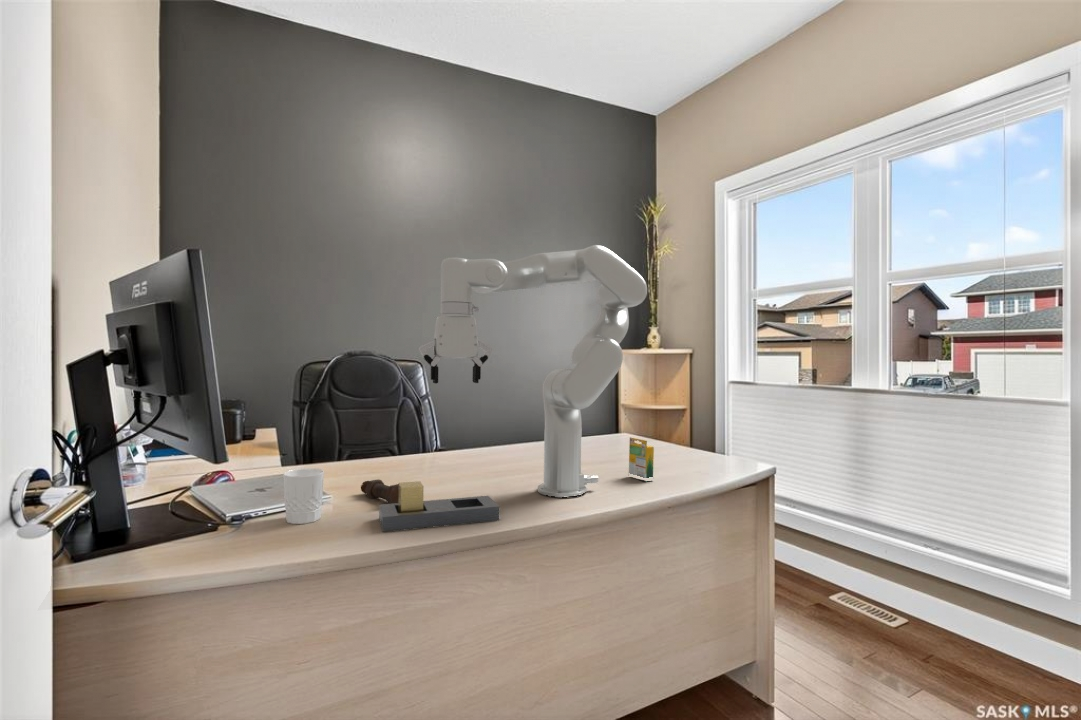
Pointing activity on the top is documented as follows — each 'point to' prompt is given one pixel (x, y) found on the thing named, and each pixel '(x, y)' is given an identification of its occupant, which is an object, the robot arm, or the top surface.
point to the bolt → (381, 491)
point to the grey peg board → (440, 513)
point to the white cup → (303, 495)
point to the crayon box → (641, 458)
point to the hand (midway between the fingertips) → (455, 382)
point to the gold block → (410, 497)
